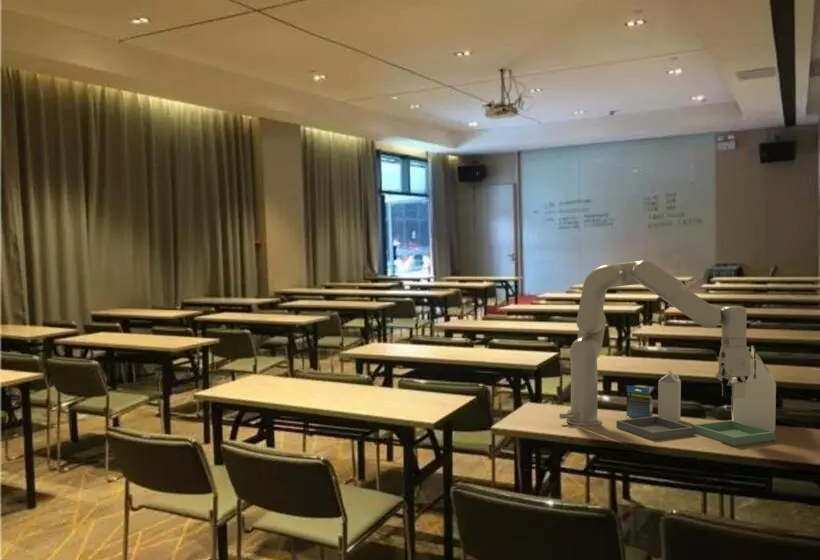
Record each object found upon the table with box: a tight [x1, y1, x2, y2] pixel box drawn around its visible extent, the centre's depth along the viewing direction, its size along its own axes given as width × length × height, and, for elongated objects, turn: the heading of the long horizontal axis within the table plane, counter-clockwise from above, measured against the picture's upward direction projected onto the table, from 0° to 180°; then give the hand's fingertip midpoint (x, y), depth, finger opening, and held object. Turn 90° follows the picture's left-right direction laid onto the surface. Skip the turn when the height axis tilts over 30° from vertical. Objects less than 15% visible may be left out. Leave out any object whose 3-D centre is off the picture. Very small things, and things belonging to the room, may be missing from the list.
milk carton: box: [657, 368, 682, 423], centre depth 251 cm, size 7×7×19 cm
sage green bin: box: [691, 419, 776, 448], centre depth 229 cm, size 18×18×3 cm
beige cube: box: [721, 379, 745, 399], centre depth 228 cm, size 5×5×5 cm
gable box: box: [731, 345, 777, 432], centre depth 247 cm, size 22×13×28 cm, turn 156°
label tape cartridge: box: [626, 384, 653, 418], centre depth 256 cm, size 9×4×12 cm, turn 51°
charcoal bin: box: [615, 415, 695, 441], centre depth 235 cm, size 18×18×3 cm
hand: (733, 395), depth 228 cm, fingers closed on beige cube, 5 cm apart
